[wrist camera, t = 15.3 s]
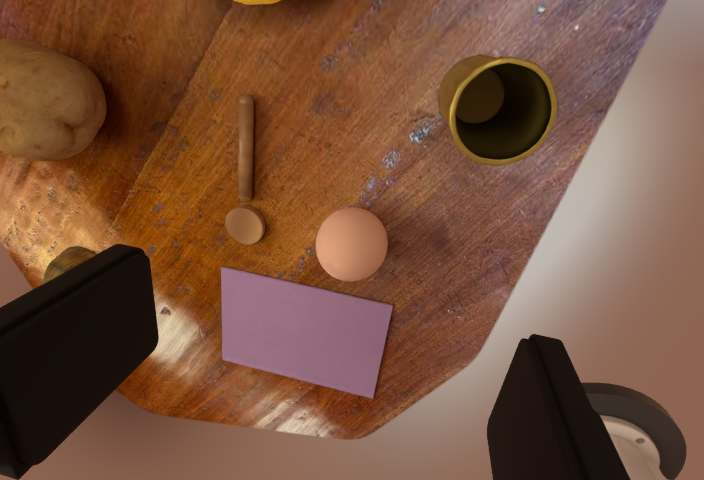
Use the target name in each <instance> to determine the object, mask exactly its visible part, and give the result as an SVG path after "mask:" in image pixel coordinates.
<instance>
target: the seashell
mask: <svg viewBox="0 0 704 480" xmlns="http://www.w3.org/2000/svg"><path fill="white" fill-rule="evenodd" d="M95 255H97V254H95V253H94V252H92V251H90V250H87V249H84V248H81V247H69V248H68V249H66V250H65V251H63V252H62V253H61V254H60V255H58V256H57V257H56V258H55V259H54V260H52V261H51V262H50V264H49V265H48V267H47V269H46V271H45V274H44V278H43V281H42V282H43V283H42V284H44V283H46V282H48V281H50V280H52V279H53V278H55V277H57V276H59V275H61V274H62V273H64V272H66V271H68V270H70V269H72V268H73V267H75V266H77V265H79V264H81V263H82V262H84V261H86V260H88V259H90V258H92V257H93V256H95Z"/></svg>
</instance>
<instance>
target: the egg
mask: <svg viewBox="0 0 704 480" xmlns="http://www.w3.org/2000/svg"><path fill="white" fill-rule="evenodd" d="M387 248H388V238H387V233H386V230H385V228H384V226H383V224H382V223H381V221H380V220H379V219H378V218H377V217H376V216H375V215H374V214H372V213H371V212H369V211H367V210H365V209H361V208H355V207H350V208H344V209H341V210H338V211H335V212H334V213H333V214H331V215H330V216H329V217H328V218H327V219H326V220H325V221H324V222H323V224H322V225H321V227H320V229H319V231H318V233H317V238H316V252H317V257H318V259H319V262H320V263H321V265H322V267H323V268H324V269H325V271H326V272H327V273H328V274H330V275H331V276H333V277H334V278H337V279H339V280H342V281H358V280H361V279H364V278H367V277H368V276H370V275H372V274H373V273H374V272H375V271H376V270H377V269H378V268H379V267H380V266H381V265H382V263H383V261H384V259H385V256H386V254H387Z"/></svg>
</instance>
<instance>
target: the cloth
mask: <svg viewBox="0 0 704 480" xmlns="http://www.w3.org/2000/svg"><path fill="white" fill-rule="evenodd" d="M221 289H222V349H223V360H225V361H229V362H233V363H237V364H241V365H245V366H248V367H252V368H256V369H260V370H264V371H268V372H272V373H276V374H279V375H283V376H287V377H291V378H295V379H299V380H303V381H307V382H310V383H314V384H318V385H322V386H326V387H330V388H334V389H338V390H341V391H345V392H349V393H353V394H357V395H361V396H365V397H368V398H372V399H373V396H374V391H375V386H376V382H377V377H378V373H379V368H380V363H381V359H382V354H383V350H384V345H385V340H386V336H387V331H388V327H389V322H390V317H391V313H392V308H393V305H392V304H388V303H383V302H379V301H374V300H370V299H366V298H361V297H357V296H352V295H348V294H343V293H339V292H335V291H330V290H326V289H321V288H317V287H312V286H308V285H304V284H299V283H295V282H290V281H286V280H282V279H277V278H273V277H268V276H264V275H259V274H255V273H251V272H246V271H242V270H237V269H233V268H229V267H224V266H222V267H221Z"/></svg>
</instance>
